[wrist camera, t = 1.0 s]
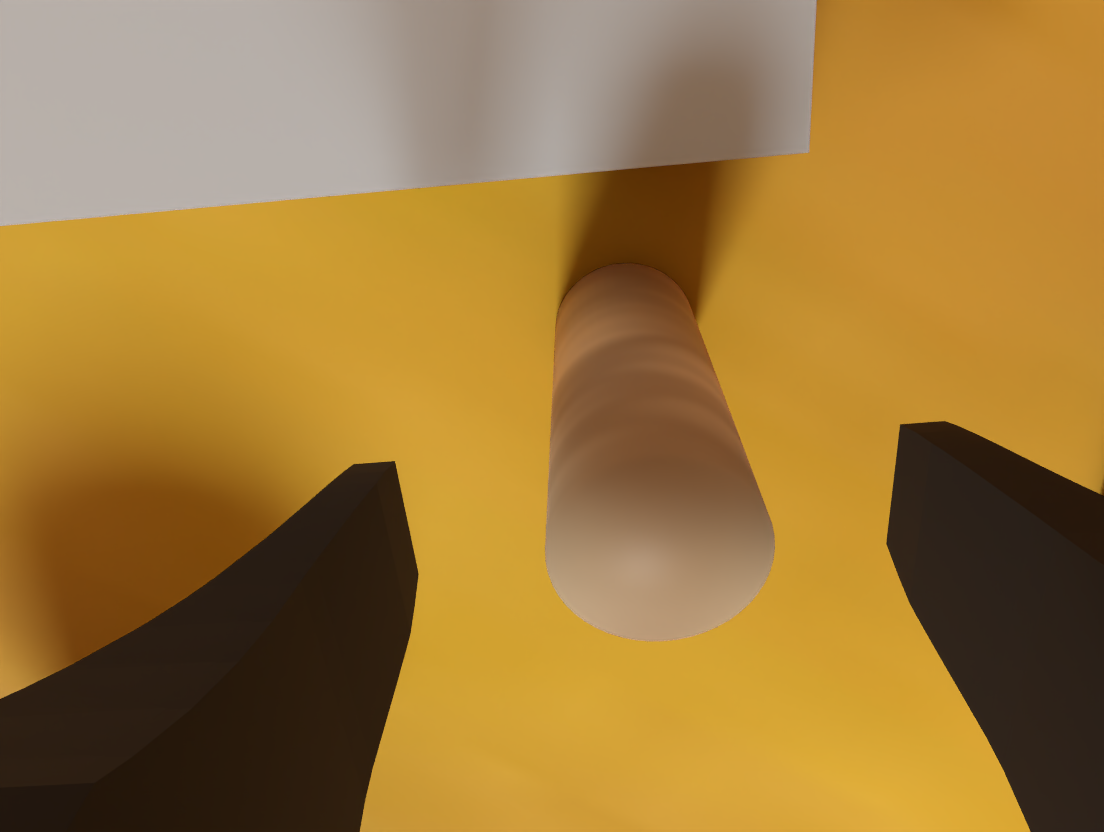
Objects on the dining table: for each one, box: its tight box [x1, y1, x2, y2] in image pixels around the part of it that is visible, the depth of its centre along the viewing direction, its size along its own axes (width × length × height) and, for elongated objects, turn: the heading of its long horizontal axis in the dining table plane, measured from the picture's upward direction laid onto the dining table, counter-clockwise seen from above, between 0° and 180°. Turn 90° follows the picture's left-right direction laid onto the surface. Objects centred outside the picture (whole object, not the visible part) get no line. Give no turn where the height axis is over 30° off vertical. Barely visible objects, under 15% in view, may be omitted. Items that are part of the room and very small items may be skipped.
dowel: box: [545, 263, 775, 641], centre depth 14 cm, size 3×3×8 cm
